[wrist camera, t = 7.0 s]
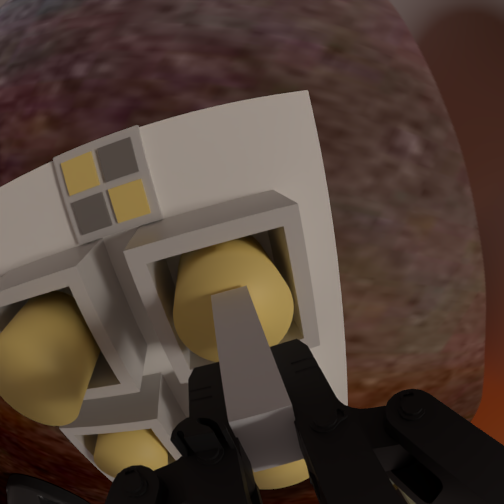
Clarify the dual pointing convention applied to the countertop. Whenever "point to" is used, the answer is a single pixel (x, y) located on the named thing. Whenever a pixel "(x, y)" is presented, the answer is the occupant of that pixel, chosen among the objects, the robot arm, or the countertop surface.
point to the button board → (172, 247)
